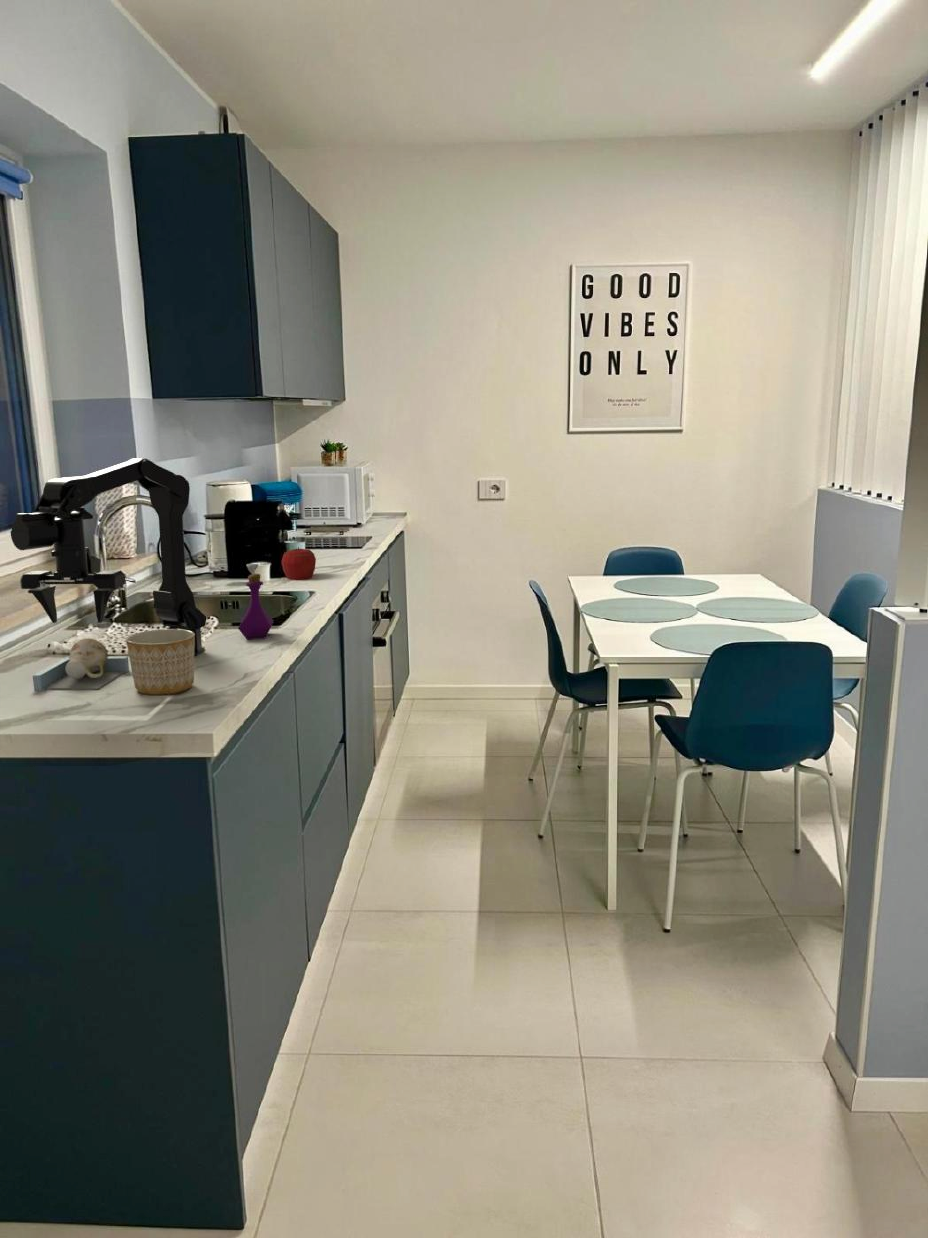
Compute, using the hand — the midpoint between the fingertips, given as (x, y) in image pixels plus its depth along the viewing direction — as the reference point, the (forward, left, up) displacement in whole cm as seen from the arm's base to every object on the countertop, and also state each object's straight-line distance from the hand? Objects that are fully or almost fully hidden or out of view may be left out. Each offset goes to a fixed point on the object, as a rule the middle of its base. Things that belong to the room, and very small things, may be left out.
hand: (77, 622), depth 185 cm
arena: (+7, -8, -12) cm, 16 cm away
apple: (-19, -112, -13) cm, 114 cm away
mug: (-1, 0, -13) cm, 13 cm away
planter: (-18, +4, -13) cm, 22 cm away
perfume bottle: (-25, -38, -13) cm, 47 cm away
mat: (0, -1, -12) cm, 12 cm away
